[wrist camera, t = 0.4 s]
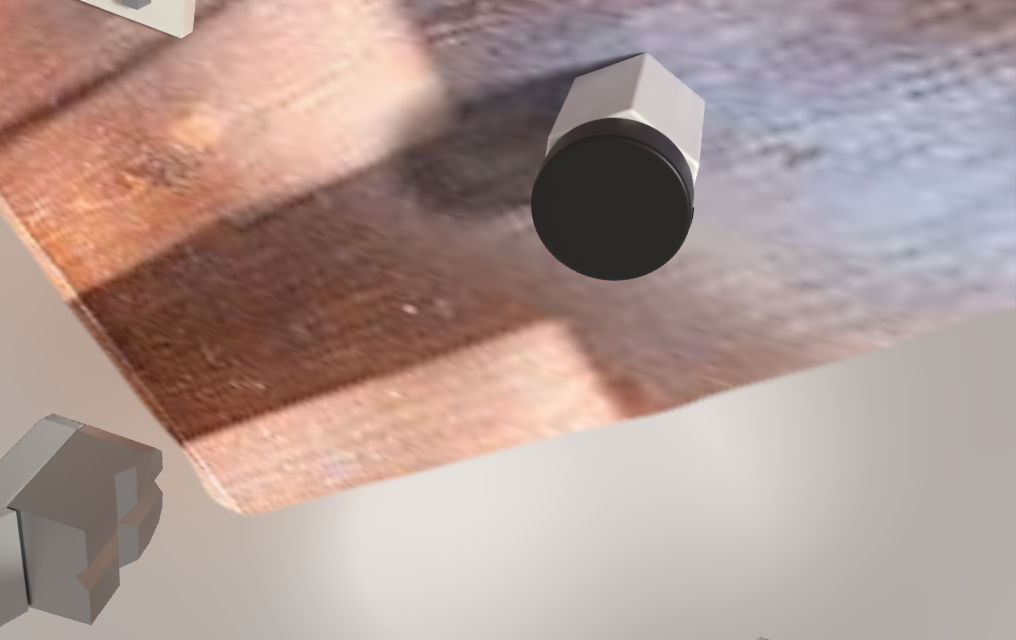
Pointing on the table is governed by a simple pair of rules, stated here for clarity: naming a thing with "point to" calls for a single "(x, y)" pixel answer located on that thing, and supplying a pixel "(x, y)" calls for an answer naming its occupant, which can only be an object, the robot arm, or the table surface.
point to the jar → (620, 171)
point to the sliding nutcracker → (154, 13)
